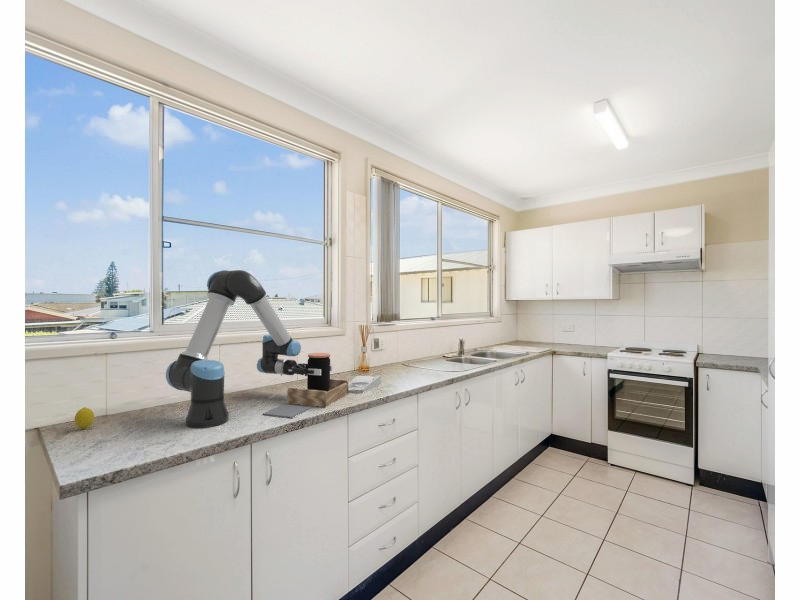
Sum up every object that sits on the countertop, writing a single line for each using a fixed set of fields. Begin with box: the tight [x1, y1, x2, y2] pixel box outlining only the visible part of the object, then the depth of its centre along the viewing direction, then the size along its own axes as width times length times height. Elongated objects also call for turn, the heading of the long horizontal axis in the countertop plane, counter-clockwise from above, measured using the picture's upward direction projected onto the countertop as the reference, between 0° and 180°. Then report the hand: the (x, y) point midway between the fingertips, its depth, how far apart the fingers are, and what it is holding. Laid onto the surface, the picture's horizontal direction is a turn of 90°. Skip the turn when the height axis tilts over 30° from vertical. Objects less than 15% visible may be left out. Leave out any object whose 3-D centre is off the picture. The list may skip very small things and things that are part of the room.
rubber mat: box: [262, 403, 311, 419], centre depth 164 cm, size 14×14×1 cm
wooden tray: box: [287, 378, 349, 408], centre depth 185 cm, size 19×24×7 cm
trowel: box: [348, 375, 382, 394], centre depth 206 cm, size 28×16×5 cm, turn 139°
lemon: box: [74, 406, 95, 430], centre depth 141 cm, size 6×6×8 cm
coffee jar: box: [306, 352, 331, 392], centre depth 185 cm, size 11×11×18 cm
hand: (326, 370), depth 184 cm, fingers closed on coffee jar, 11 cm apart
